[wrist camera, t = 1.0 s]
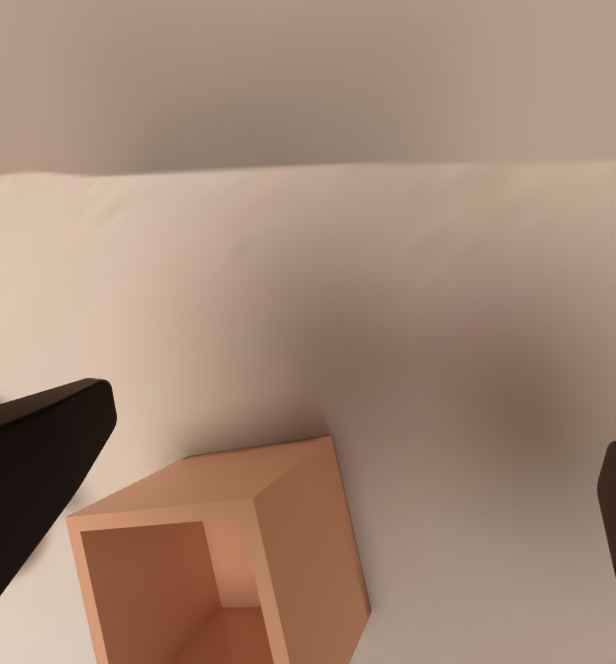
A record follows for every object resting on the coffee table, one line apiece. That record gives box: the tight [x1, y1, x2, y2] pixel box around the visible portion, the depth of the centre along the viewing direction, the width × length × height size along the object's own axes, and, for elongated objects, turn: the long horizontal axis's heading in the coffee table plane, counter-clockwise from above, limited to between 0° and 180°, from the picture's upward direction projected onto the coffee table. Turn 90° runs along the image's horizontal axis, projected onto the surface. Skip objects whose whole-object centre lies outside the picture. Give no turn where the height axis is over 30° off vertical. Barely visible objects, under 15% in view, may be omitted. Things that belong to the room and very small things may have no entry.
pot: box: [65, 436, 371, 664], centre depth 22 cm, size 8×8×8 cm
